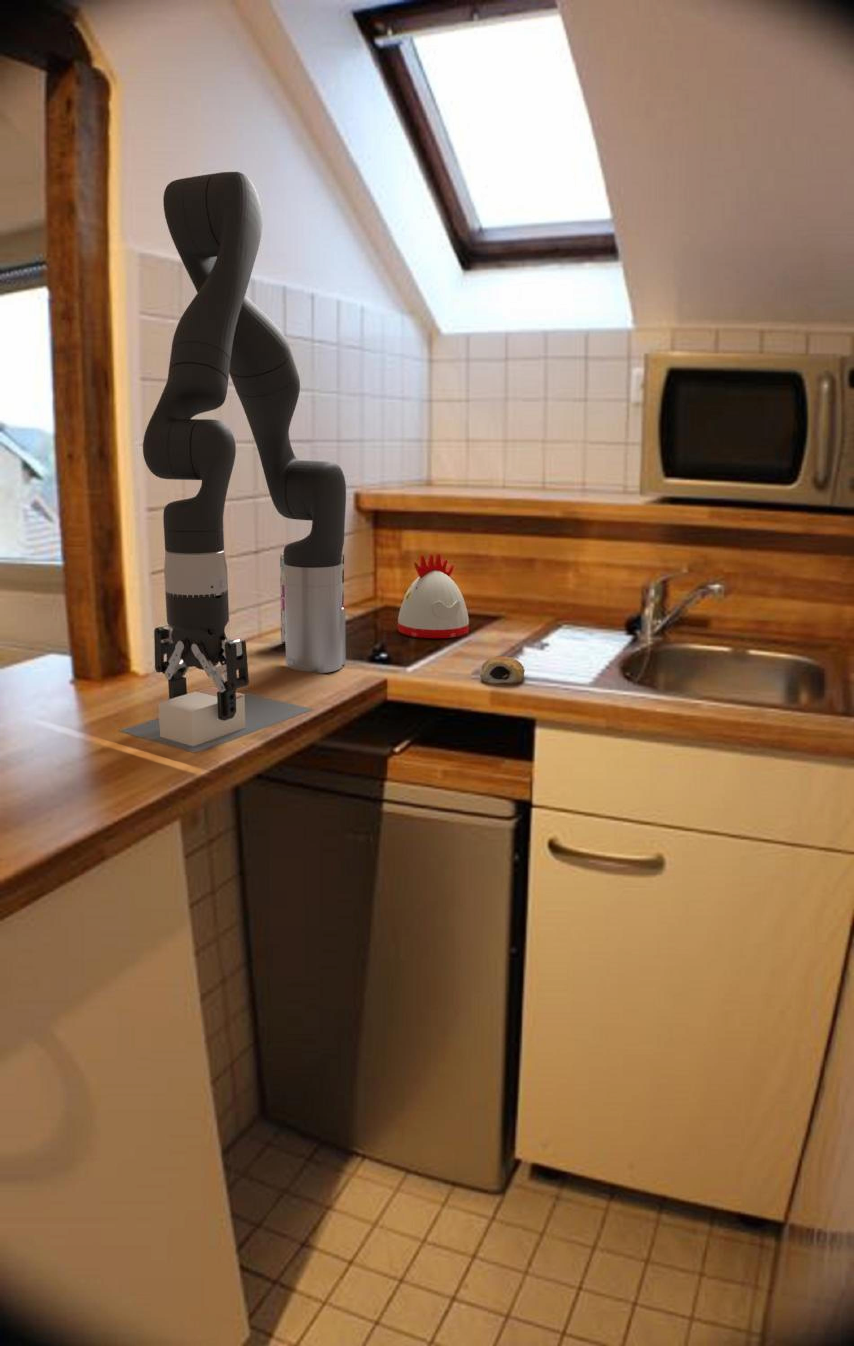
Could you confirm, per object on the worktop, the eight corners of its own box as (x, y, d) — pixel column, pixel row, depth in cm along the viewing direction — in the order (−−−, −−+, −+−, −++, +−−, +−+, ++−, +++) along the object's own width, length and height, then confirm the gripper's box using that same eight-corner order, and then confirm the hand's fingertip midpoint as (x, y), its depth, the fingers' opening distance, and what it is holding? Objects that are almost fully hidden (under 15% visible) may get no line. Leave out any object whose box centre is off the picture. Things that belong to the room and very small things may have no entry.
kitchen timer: (387, 625, 186) (387, 550, 182) (448, 620, 192) (450, 548, 188) (415, 640, 174) (417, 560, 170) (480, 635, 180) (483, 557, 176)
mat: (241, 695, 137) (240, 691, 137) (314, 713, 130) (314, 709, 130) (119, 735, 120) (118, 730, 119) (195, 757, 112) (195, 753, 112)
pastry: (488, 669, 156) (489, 647, 155) (528, 672, 154) (529, 650, 153) (478, 684, 147) (479, 660, 146) (521, 687, 146) (522, 664, 145)
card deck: (160, 736, 118) (157, 702, 116) (212, 719, 125) (211, 686, 124) (193, 746, 114) (191, 711, 113) (245, 727, 122) (244, 694, 120)
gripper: (133, 584, 115) (141, 709, 120) (215, 598, 108) (221, 731, 112) (179, 576, 121) (186, 696, 126) (260, 589, 114) (264, 715, 118)
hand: (202, 712), depth 119 cm, fingers open, 8 cm apart
